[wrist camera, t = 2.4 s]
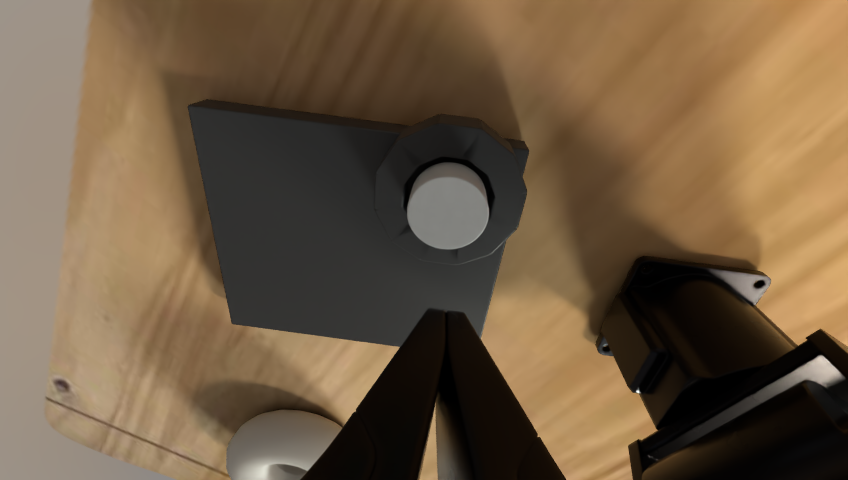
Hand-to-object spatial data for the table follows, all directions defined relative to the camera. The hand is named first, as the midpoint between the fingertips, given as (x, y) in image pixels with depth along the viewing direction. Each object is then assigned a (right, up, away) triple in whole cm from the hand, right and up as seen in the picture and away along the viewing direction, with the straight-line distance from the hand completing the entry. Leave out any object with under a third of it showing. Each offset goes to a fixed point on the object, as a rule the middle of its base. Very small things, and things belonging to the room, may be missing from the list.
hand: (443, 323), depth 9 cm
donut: (-10, -14, +20) cm, 26 cm away
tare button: (0, +4, +6) cm, 7 cm away
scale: (-4, +2, +11) cm, 11 cm away
